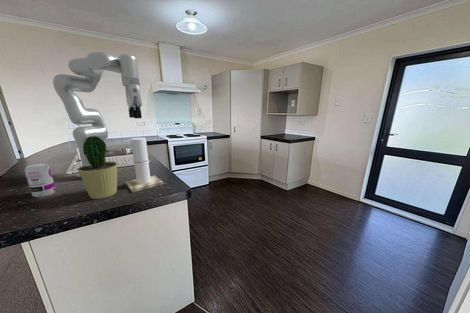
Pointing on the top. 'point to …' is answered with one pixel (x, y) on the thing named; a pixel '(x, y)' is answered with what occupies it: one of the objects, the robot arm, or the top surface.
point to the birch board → (136, 187)
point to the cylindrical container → (140, 160)
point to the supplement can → (40, 180)
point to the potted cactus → (98, 170)
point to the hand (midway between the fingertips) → (135, 117)
